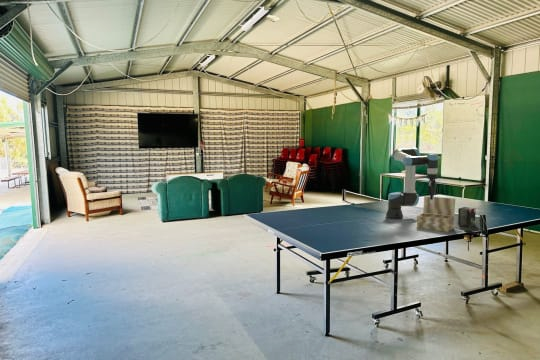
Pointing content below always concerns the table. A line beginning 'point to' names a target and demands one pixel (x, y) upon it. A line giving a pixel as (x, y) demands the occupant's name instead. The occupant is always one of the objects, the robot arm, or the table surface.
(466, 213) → the tampon box
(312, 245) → the table surface
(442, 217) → the open wooden box
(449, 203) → the flap
